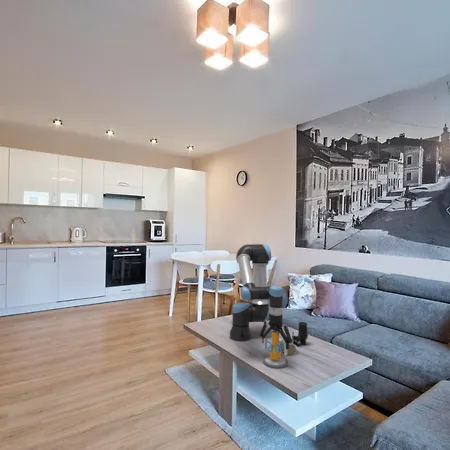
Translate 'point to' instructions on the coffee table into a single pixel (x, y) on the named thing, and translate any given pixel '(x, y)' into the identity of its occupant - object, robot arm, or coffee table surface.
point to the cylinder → (275, 346)
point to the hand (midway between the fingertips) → (275, 351)
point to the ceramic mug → (291, 348)
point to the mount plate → (275, 362)
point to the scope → (300, 335)
